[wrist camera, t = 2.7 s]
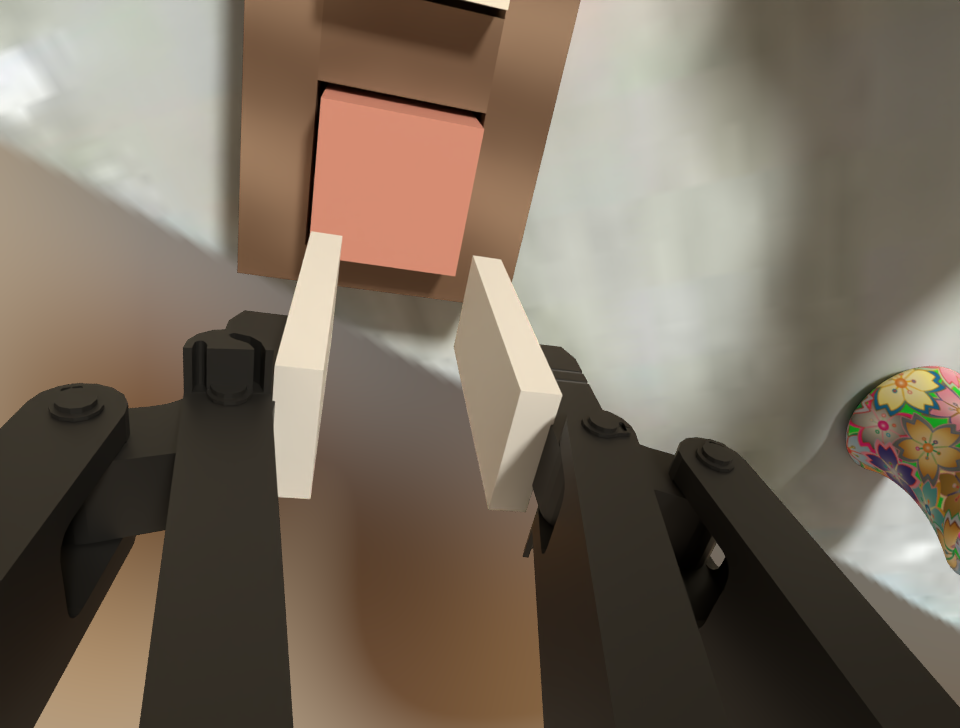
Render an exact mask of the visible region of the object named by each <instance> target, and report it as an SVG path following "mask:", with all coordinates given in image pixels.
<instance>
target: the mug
mask: <svg viewBox="0 0 960 728" xmlns="http://www.w3.org/2000/svg"><path fill="white" fill-rule="evenodd" d="M846 446H847V450H848V452H849V454H850V456H851V458H852V459H853V460H854V461H855V462H856V463H857V464H858V465H860V466H861V467H863V468H865V469H868V470H871V471H875V472H878V473H880V474H882V475H884V476H886V477H888V478H889V479H891V480H892V481H894V482H895V483H896V484H898V485H899V486H900V487H901V488H902V489H904V490H905V491H906V492H907V493H908V494H909V495H910V496H911V497H912V498H913V499H914V501H915V502H916V503H917V504H918V505H919V507H920V508H921V509H922V511H923V512H924V514H925V515H926V516H927V518H928V520H929V521H930V523H931V525H932V527H933V528H934V530H935V532H936V534H937V536H938V539H939V541H940V543H941V546H942V548H943V551H944V554H945V557H946V560H947V562H948V564H949V565H950V567H951V568H952V569H953V570H954V571H955V572H956V573H957V574H959V575H960V374H959V373H957V372H955V371H953V370H951V369H948V368H945V367H939V366H926V367H918V368H914V369H910V370H907V371H904V372H902V373H899V374H897V375H895V376H893V377H891V378H889V379H888V380H886V381H884V382H883V383H881V384H880V385H879V386H877V387H876V388H875V389H874V390H872V391H871V392H870V393H869V394H868V395H867V396H866V397H865V398H864V399H863V400H862V402H861V403H860V404H859V405H858V407H857V408H856V410H855V411H854V413H853V415H852V417H851V419H850V421H849V424H848V427H847V431H846Z"/></svg>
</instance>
